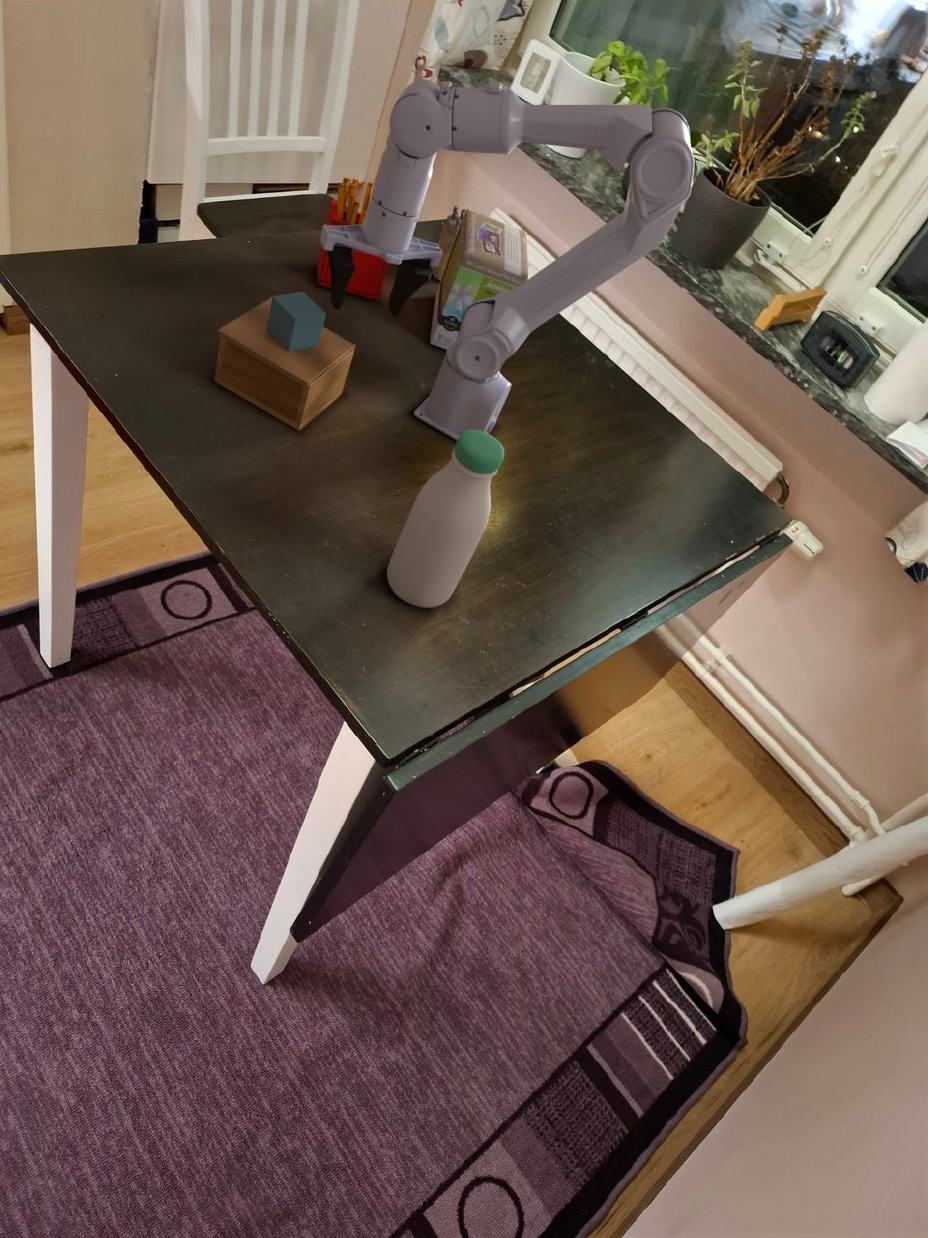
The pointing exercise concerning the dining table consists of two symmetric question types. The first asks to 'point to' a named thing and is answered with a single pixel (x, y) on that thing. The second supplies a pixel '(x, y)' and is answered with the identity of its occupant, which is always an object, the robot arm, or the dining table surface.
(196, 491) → the dining table surface
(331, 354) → the box lid
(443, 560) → the milk bottle
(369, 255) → the french fries container
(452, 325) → the tea box
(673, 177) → the robot arm
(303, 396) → the box
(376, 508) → the dining table surface
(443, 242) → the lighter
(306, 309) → the block
